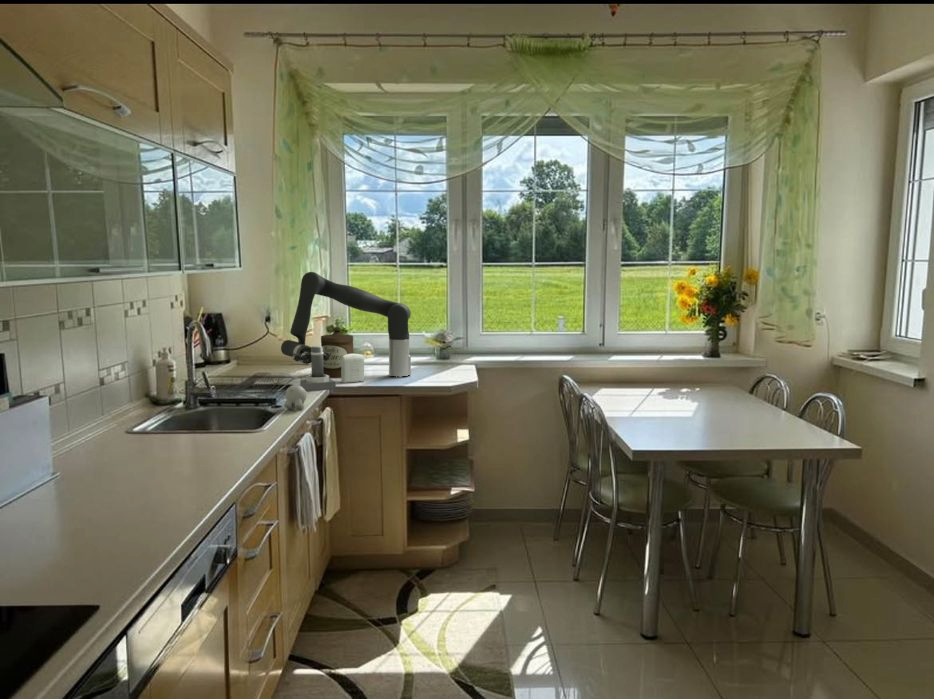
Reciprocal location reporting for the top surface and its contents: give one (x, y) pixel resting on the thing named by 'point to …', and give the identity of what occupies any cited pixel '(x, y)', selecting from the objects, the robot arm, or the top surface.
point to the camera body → (317, 383)
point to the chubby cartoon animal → (295, 397)
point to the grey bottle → (317, 361)
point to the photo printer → (352, 368)
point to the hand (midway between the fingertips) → (316, 358)
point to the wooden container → (336, 351)
